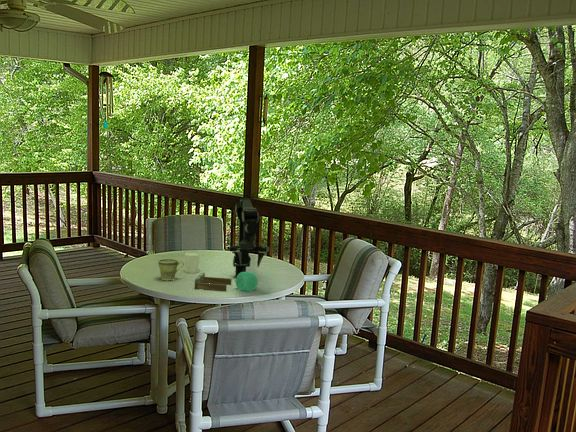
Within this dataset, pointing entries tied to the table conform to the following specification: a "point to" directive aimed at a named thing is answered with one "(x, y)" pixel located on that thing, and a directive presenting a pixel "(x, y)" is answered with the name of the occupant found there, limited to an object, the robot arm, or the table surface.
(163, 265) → the ceramic cup
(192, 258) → the white cup
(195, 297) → the table surface
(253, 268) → the table surface
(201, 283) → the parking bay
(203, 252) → the table surface
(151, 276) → the table surface
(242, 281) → the decorative dice
